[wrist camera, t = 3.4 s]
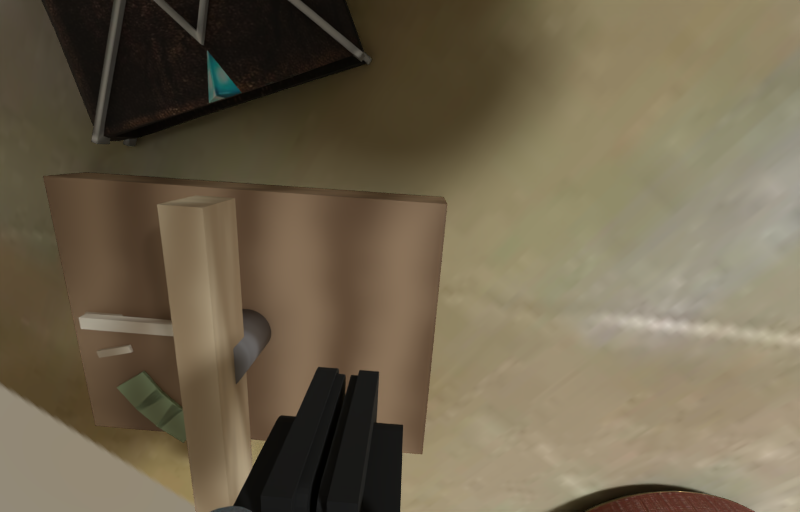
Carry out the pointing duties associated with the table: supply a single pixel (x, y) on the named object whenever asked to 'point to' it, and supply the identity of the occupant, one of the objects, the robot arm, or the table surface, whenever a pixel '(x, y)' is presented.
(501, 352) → the table surface
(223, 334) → the wooden lever
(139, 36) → the book
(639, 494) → the planter
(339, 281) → the dial board
